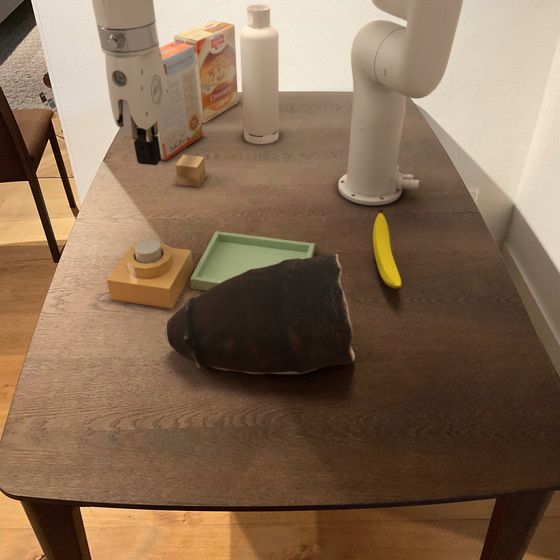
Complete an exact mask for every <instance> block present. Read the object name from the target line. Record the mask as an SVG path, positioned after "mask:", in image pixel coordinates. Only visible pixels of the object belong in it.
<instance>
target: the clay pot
mask: <svg viewBox="0 0 560 560" xmlns="http://www.w3.org/2000/svg"><path fill="white" fill-rule="evenodd" d="M342 268H343V267H342V265H341V263H340V259H339V254H338V253H329V254H323V255H318V256H313V257H312V258H305V259H300V258H296V259H287V260H283V261H282V262H280V263H277V264H274V265H270V266H266V267H262V268H255V269H250V270H248V271H246V272H244V273H242V274H240V275H237V276H234V277H232V278H230V279H227V280H225V281H223V282H221V283H220V284H218V285H216V286H214V287H212V288H210V289H208V290H207V291H205V290H204V292H201V293H200V294H199V295H198V296H193V297H190V298H188V299H187V300H186V302H185V304H184V306H183V307H181V308H180V309H179V310H177V311H176V312H175V313H174V314H172V316H171V317H170V318H169V319H167V321H166V323H165V326H164V334H165V335H164V336H165V338H166V340H167V343H168V344H169V346H170V347H171V348H172V349H173V350H174V351H175V352H176V353H177V354H179V355H180V356H182V357H183V358H185V359H186V360H187V361H189V362H190V363H192V364H193V365H195V366H196V367H197V368H201V367H202V368H208V369H209V368H212V369H217V370H223V371H231V372H232V371H233V372H241V373H246V374H249V375H251V374H252V375H264V374H266V375H267V374H272V375H273V374H275V375H303V374H306V373H309V372H313V371H316V370H319V369H322V368H326V367H333V366H338V365H345V364H350V363H353V362H354V361H355V359H356V354H355V352H354V350H353V346H352V343H353V340H354V330H353V325H352V321H351V313H350V309H349V303H348V299H347V297H346V294H345V291H344V289H343V285H342V283H341V282H342V273H343V272H342Z"/></svg>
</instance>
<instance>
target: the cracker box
mask: <svg viewBox="0 0 560 560" xmlns="http://www.w3.org/2000/svg"><path fill="white" fill-rule="evenodd" d="M159 48H160V52H161V55H162V60H163V64H164V69H165V74H166V80H167V86H168V92H169V98H170V103H169V106H168V108H167V109H166V111H165V112H164V113H163V114H162V115H161V117H160V118H159V119H158V120H157V123H158V134H157V135H155V136H158V141H159V147H160V154H161V160H160V161H167V160H169V159H170V158H172V157H174V156H175V155H177V154H178V153H180V152H181V151H183V150H184V149H186V148H187V147H189V146H191V145H192V144H193V143H195V142H197V141H198V140H200V139H201V138H203V136H204V134H203V125H202V123H201V113H200V104H199V95H198V85H197V76H196V66H195V57H194V47H193V45H187V44H182V43H178V42H175V41H172V42H169V43H167V44H165V45H163V46H159Z"/></svg>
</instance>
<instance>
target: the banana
mask: <svg viewBox="0 0 560 560" xmlns="http://www.w3.org/2000/svg"><path fill="white" fill-rule="evenodd" d="M383 211H384V210H383V209H382V208H379V209H377V212H378V214H377V216H376V218H375V221H374V223H373V224H374V225H373V229H372V243H373V254H374V259H375V262H376V266H377V270H378V273H379V275H380V277H381V279H382V282H384V284H386V285H387V286H388V287H390V288H392V289H400V288H401V286H402V279H401V276H400V272H399V270H398V268H397V265H396V262H395V259H394V256H393V252H392V248H391V236H390V230H389V226H388V222H387V220H386V217H385V216H384V214H383Z"/></svg>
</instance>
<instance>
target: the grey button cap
mask: <svg viewBox="0 0 560 560" xmlns="http://www.w3.org/2000/svg"><path fill="white" fill-rule="evenodd" d="M160 242H161V241H159V240H157V239H156V238H143V239H141V240H138V241H137V242H135V243H136V244H135V245H134V251H135V256H136V260H137V261H138V262H139V263H145V264H148V263H153V262H156V261H158V260H159V259H161V257H162V251H161V245H160Z"/></svg>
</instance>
